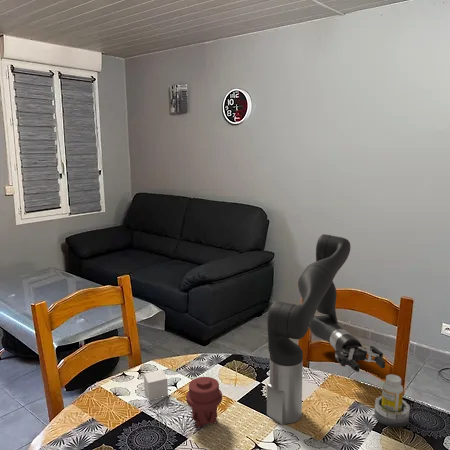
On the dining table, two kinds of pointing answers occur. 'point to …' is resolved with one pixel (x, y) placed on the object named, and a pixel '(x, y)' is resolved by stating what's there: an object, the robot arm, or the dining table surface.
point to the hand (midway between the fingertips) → (371, 367)
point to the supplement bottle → (392, 394)
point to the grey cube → (155, 384)
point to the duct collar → (392, 415)
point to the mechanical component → (204, 400)
